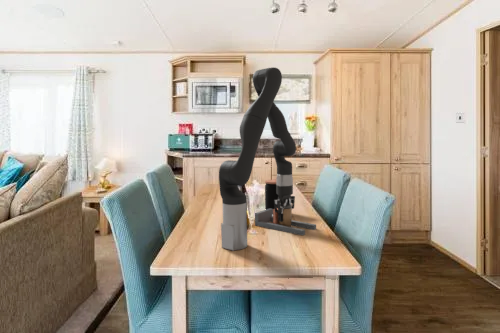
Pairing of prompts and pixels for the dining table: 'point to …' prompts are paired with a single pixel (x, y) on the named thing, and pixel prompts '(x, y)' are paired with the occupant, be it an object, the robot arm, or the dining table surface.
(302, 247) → the dining table surface
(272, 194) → the coffee jar
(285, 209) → the spice jar
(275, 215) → the plate
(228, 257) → the dining table surface
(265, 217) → the lane
